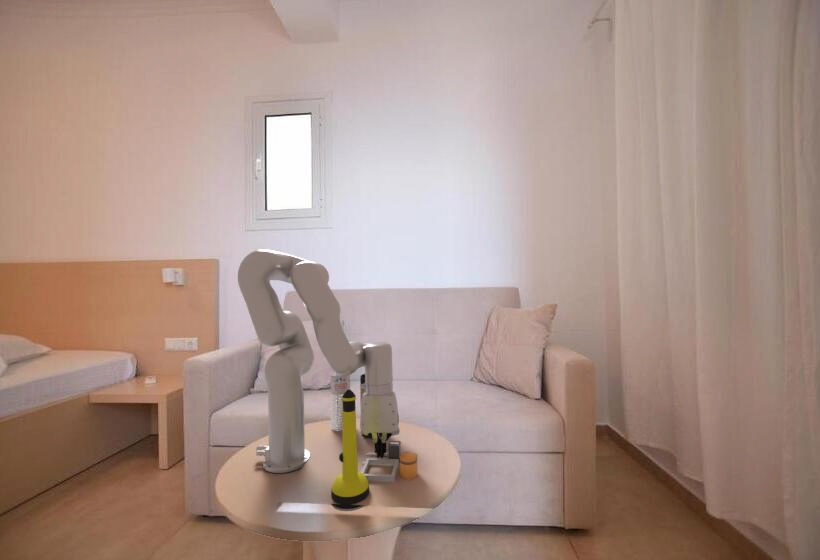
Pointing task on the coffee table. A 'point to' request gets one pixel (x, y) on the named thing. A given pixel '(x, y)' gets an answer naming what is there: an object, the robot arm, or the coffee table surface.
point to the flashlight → (349, 463)
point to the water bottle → (337, 398)
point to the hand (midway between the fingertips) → (380, 455)
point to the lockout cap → (408, 465)
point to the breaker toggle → (394, 450)
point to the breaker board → (380, 463)
